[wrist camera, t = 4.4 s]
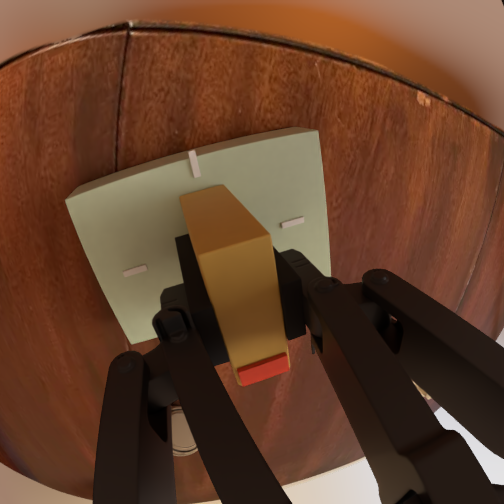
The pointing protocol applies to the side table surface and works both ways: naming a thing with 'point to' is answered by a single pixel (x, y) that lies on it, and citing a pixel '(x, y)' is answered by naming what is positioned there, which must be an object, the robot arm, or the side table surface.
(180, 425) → the door knob
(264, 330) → the lock knob
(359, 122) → the side table surface
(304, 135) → the plate
